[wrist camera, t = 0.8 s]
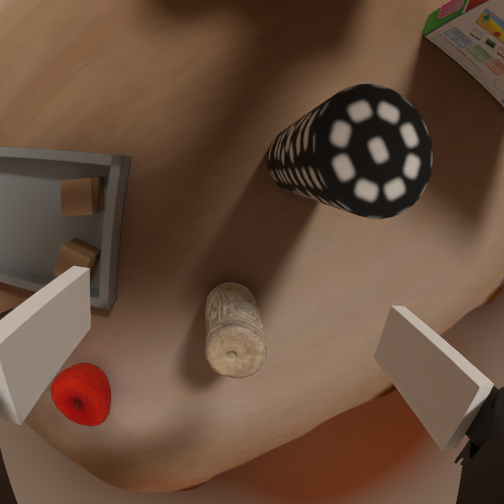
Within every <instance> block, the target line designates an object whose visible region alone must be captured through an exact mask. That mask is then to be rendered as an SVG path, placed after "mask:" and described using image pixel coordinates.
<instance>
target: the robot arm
mask: <svg viewBox="0 0 504 504" xmlns="http://www.w3.org/2000/svg"><path fill="white" fill-rule="evenodd" d="M90 328H91V314H90V268H84V267H78V266H73V267H71V268H70V269H69V270H67V271H66V272H64V273H63V274H61V275H60V276H59V277H57V278H56V279H54V280H53V281H52V282H50V283H49V284H47V285H46V286H45V287H43V288H42V289H40V290H39V291H38V292H36V293H35V294H34V295H32V296H31V297H30V298H28V299H27V300H26V301H24V302H23V303H22V304H20V305H19V306H18V307H16V308H13V309H10V310H8V311H5V312H2V313H1V314H0V414H1V417H2V418H4V419H7V420H9V421H11V422H14V423H16V424H18V425H22V423H23V422H24V420H25V419H26V417H27V416H28V414H29V413H30V411H31V410H32V408H33V407H34V405H35V404H36V402H37V401H38V399H39V398H40V396H41V395H42V393H43V392H44V391H45V389H46V388H47V386H48V385H49V384H50V382H51V381H52V379H53V378H54V377H55V375H56V374H57V372H58V371H59V370H60V368H61V367H62V365H63V364H64V363H65V361H66V360H67V359H68V357H69V356H70V355H71V353H72V352H73V351H74V349H75V348H76V347H77V345H78V344H79V343H80V341H81V340H82V339H83V337H84V336H85V335H86V334H87V332H88V331H89V330H90ZM374 358H375V360H376V361H377V362H378V364H379V365H380V366H381V368H382V369H383V370H384V372H385V373H386V374H387V376H388V377H389V378H390V380H391V381H392V383H393V384H394V385H395V387H396V388H397V389H398V391H399V392H400V393H401V395H402V396H403V397H404V399H405V400H406V402H407V403H408V404H409V406H410V407H411V408H412V410H413V411H414V413H415V414H416V415H417V417H418V418H419V419H420V421H421V422H422V424H423V425H424V426H425V428H426V429H427V431H428V432H429V434H430V435H431V436H432V438H433V439H434V441H435V442H436V443H437V445H438V446H439V448H440V449H441V451H445V450H448V449H452V448H455V447H457V446H458V445H459V443H460V442H461V440H462V439H463V437H464V436H465V434H466V435H467V436H468V437H469V439H470V440H469V441H468V443H467V444H466V446H465V447H464V448H463V450H462V451H461V453H460V454H459V456H458V457H457V458H456V460H455V463H457V462H458V461H459V460H460V459H461V458H463V461H462V462H461V465H463V467H462V473H461V479H460V486H459V491H458V496H457V502H456V504H504V387H502V388H500V389H499V390H498V389H497V388H496V387H495V386H494V384H493V383H492V382H491V381H490V380H489V379H488V378H487V377H485V376H484V375H483V374H482V373H481V372H480V371H479V370H478V369H477V368H475V367H474V366H473V365H472V364H471V363H470V362H469V361H467V360H466V359H465V358H464V357H463V356H462V355H461V354H460V353H459V352H457V351H456V350H455V349H454V348H453V347H452V346H451V345H449V344H448V343H447V342H446V341H445V340H444V339H442V338H441V337H440V336H439V335H438V334H437V333H435V332H434V331H433V330H432V329H431V328H429V327H428V326H427V325H426V324H425V323H424V322H422V321H421V320H420V319H419V318H418V317H416V316H415V315H414V314H413V313H412V312H410V311H409V310H408V309H407V308H405V307H404V306H392V305H391V307H390V310H389V314H388V317H387V320H386V323H385V326H384V329H383V332H382V335H381V338H380V341H379V344H378V347H377V350H376V353H375V356H374ZM0 504H18V503H17V501H16V498H15V496H14V492H13V490H12V487H11V484H10V481H9V478H8V475H7V471H6V468H5V464H4V461H3V457H2V453H1V449H0Z"/></svg>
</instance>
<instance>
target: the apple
mask: <svg viewBox="0 0 504 504" xmlns="http://www.w3.org/2000/svg"><path fill="white" fill-rule="evenodd" d="M51 395H52V400H53V401H54V403H55V405H56V407H57V408H58V409H59V410H60V411H61V412H62V413H63V414H64V415H65V416H66V417H67V418H68V419H69V420H71V421H73V422H76V423H78V424H82V425H87V426H95V425H99V424H100V423H102V422H103V421H104V420H105V419H106V417H107V416H108V414H109V410H110V404H111V390H110V386H109V382H108V379H107V376H106V375H105V373H104V372H103V371H102V370H101V369H99V368H98V367H96V366H94V365H92V364H88V363H81V364H76V365H74V366H72V367H69V368H67V369H65V370H64V371H62V372H61V373H60V374H59V375H58V376H57V377H56V378H55V380H54V381H53V384H52V386H51Z"/></svg>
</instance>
